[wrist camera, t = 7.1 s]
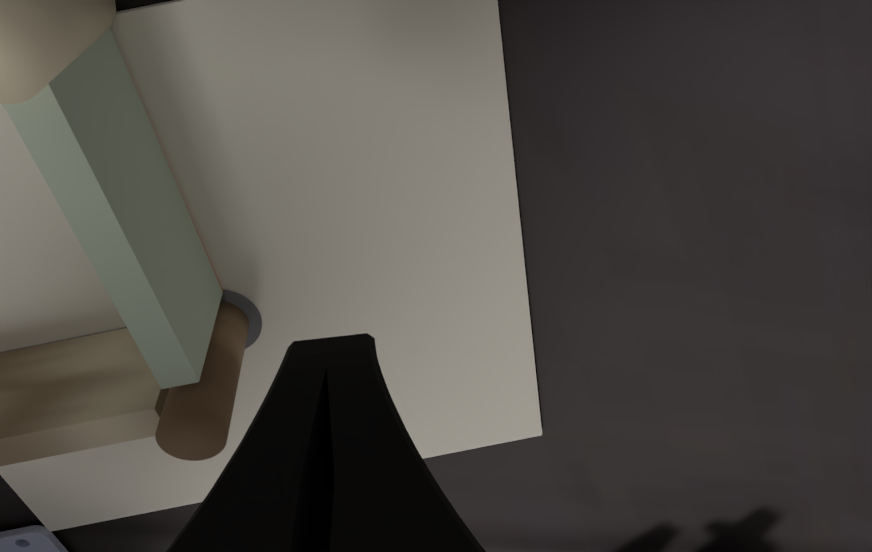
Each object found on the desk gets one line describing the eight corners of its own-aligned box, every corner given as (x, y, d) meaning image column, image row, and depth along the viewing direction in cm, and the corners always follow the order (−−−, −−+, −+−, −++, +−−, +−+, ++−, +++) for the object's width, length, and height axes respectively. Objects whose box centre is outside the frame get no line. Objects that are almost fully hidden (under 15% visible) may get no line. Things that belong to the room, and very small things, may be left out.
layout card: (52, 525, 27) (48, 533, 26) (-314, 98, 16) (-328, 104, 16) (540, 429, 26) (542, 437, 26) (489, -64, 16) (491, -61, 16)
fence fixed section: (-87, 398, 22) (-190, 537, 18) (-122, 360, 21) (-239, 496, 17) (257, 330, 22) (236, 453, 18) (240, 288, 21) (212, 408, 17)
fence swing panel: (235, 289, 21) (211, 390, 17) (178, 300, 21) (142, 403, 17) (95, -49, 15) (15, -7, 11) (17, -35, 15) (-88, 13, 11)
